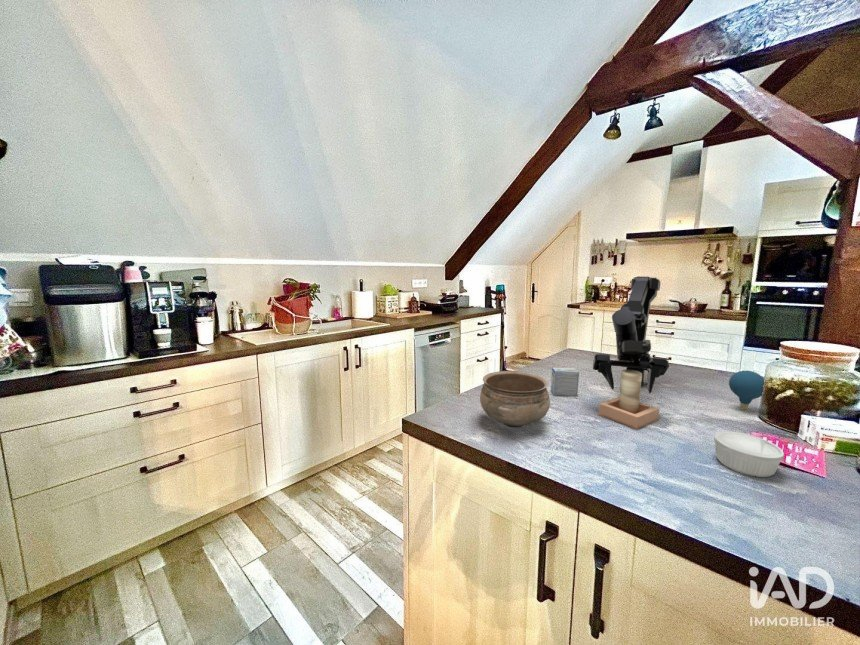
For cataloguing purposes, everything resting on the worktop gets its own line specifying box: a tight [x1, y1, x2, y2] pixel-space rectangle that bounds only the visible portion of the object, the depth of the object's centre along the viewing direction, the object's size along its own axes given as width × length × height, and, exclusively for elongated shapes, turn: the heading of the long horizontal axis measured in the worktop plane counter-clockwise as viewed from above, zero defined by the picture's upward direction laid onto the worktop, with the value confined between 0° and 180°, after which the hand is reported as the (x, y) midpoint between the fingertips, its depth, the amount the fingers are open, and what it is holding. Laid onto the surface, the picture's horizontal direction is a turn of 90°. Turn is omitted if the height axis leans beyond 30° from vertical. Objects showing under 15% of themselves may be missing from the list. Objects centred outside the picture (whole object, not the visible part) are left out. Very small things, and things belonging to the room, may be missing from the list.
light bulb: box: [728, 370, 766, 411], centre depth 104 cm, size 8×8×12 cm
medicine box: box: [550, 367, 580, 397], centre depth 118 cm, size 8×4×9 cm, turn 84°
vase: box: [618, 369, 642, 414], centre depth 99 cm, size 5×5×13 cm
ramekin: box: [713, 431, 785, 478], centre depth 76 cm, size 11×11×5 cm
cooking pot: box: [479, 370, 551, 428], centre depth 97 cm, size 25×19×12 cm
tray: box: [598, 396, 660, 430], centre depth 100 cm, size 11×11×4 cm
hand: (631, 390), depth 98 cm, fingers open, 9 cm apart
